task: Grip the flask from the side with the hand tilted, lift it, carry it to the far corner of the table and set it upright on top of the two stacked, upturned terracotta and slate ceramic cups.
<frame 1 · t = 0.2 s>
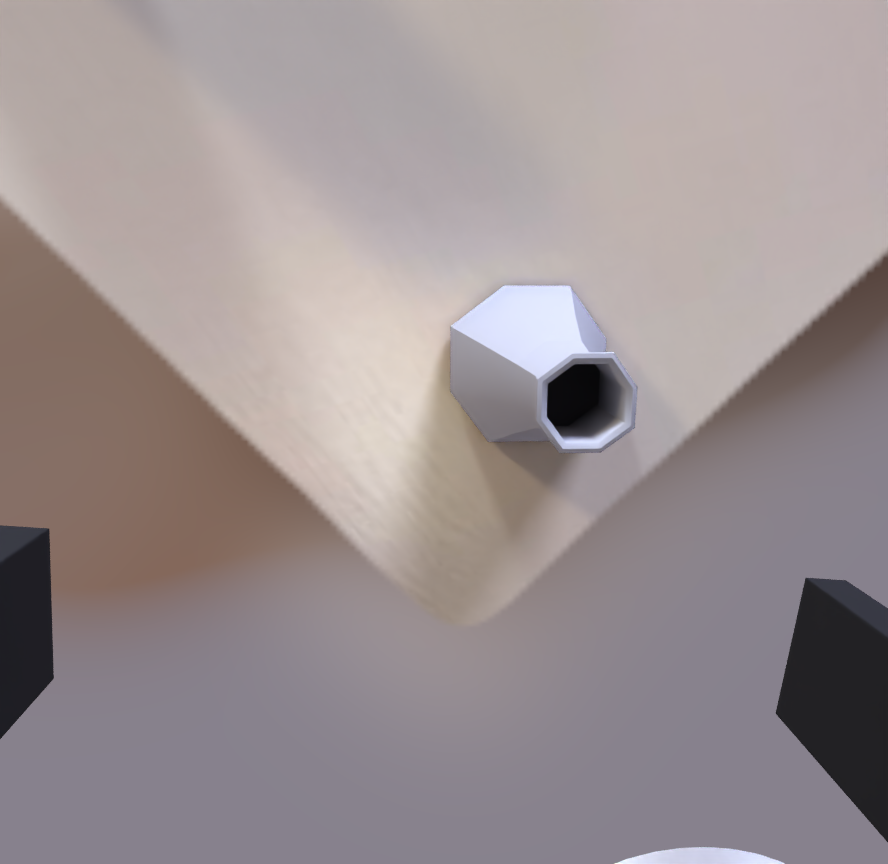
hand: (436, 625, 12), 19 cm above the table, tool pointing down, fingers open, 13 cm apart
flask: (526, 364, 30), on the table
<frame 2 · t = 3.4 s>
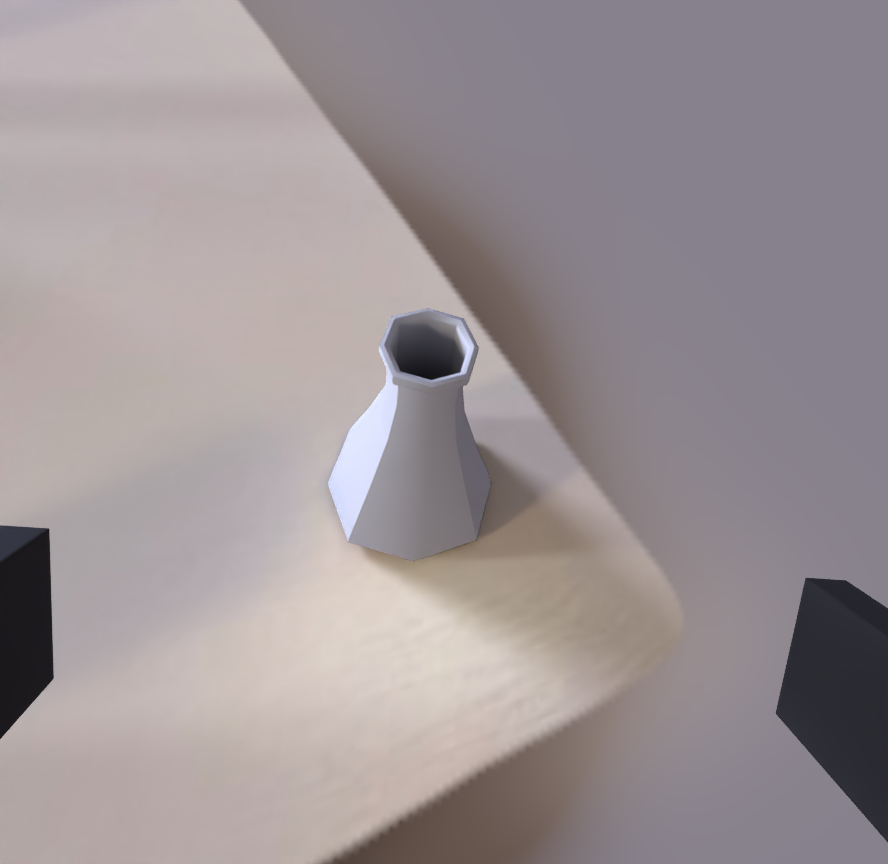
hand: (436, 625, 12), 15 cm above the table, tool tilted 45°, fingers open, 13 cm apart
flask: (410, 488, 30), on the table
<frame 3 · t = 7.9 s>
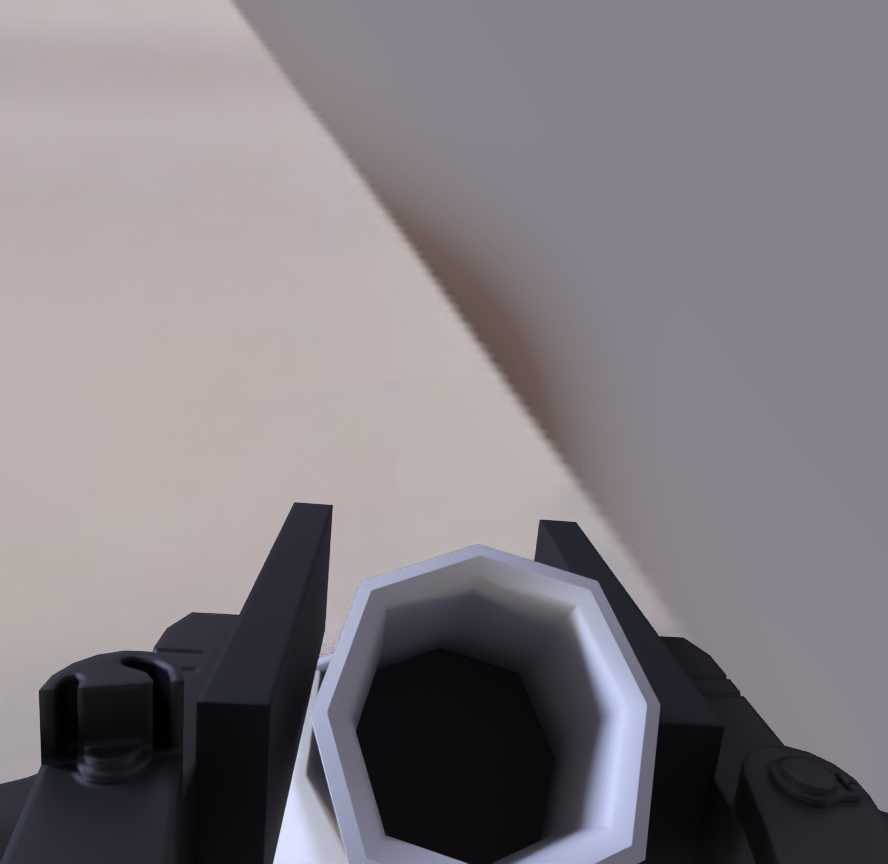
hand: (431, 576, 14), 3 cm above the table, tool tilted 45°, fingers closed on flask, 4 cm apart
flask: (411, 800, 15), on the table, touching gripper
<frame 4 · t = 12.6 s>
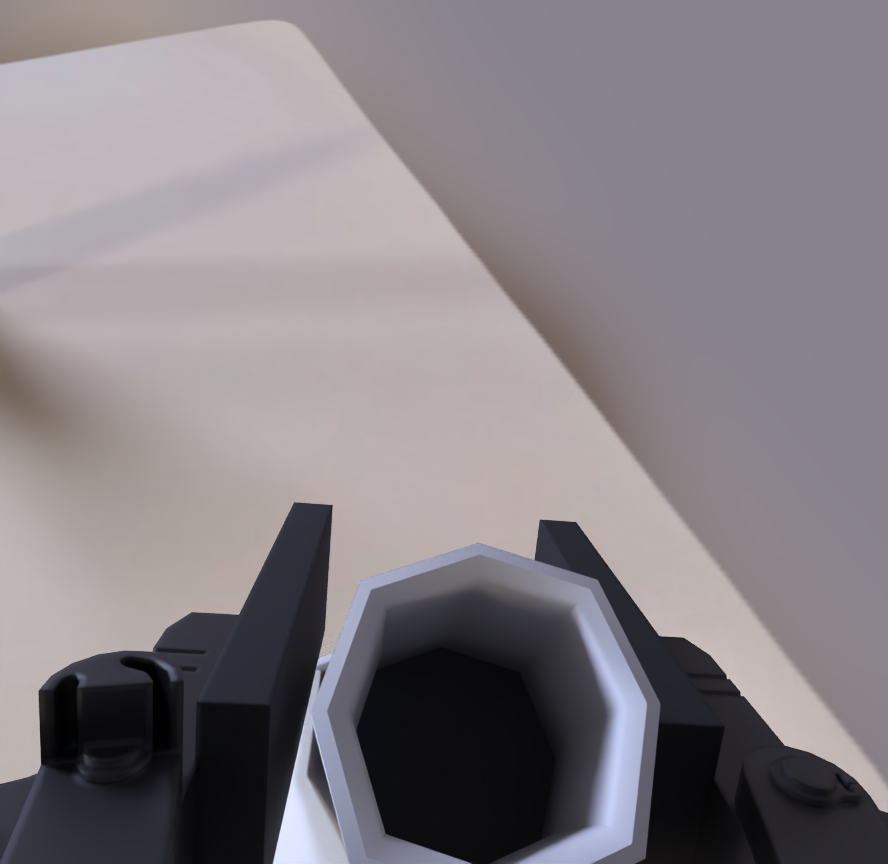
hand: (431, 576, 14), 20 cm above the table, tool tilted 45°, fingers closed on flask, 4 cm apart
flask: (412, 800, 15), point 17 cm above the table, touching gripper
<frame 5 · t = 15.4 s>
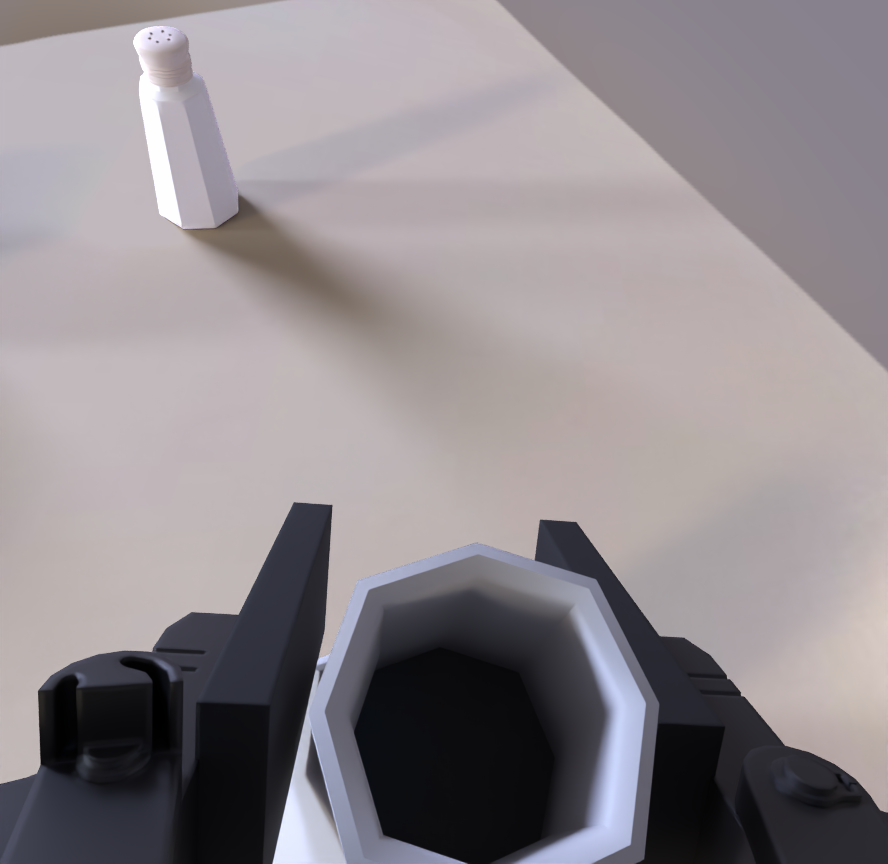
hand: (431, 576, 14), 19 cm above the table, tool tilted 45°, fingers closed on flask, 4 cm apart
pepper shaker: (200, 206, 46), on the table
flask: (412, 800, 15), point 15 cm above the table, touching gripper
when the fingers open (13 cm above the table, at t = 17.3 s): flask stays where it is, resting on cup stack.
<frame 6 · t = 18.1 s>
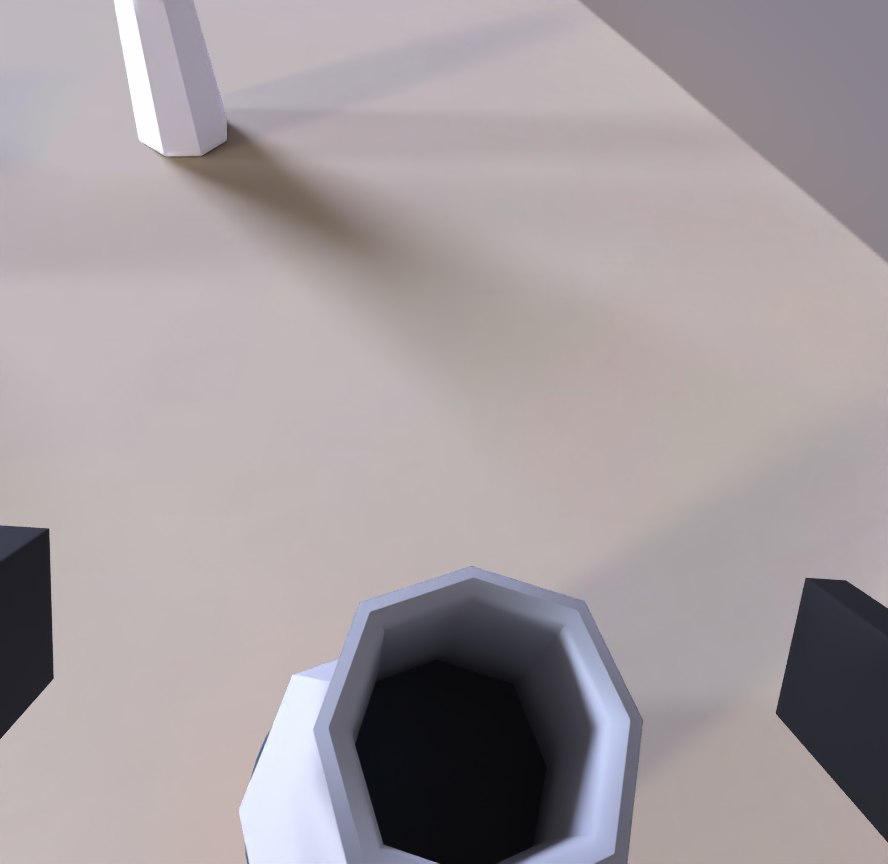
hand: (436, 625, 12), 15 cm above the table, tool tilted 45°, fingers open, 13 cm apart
pepper shaker: (185, 134, 41), on the table
flask: (409, 804, 15), point 9 cm above the table, touching cup stack
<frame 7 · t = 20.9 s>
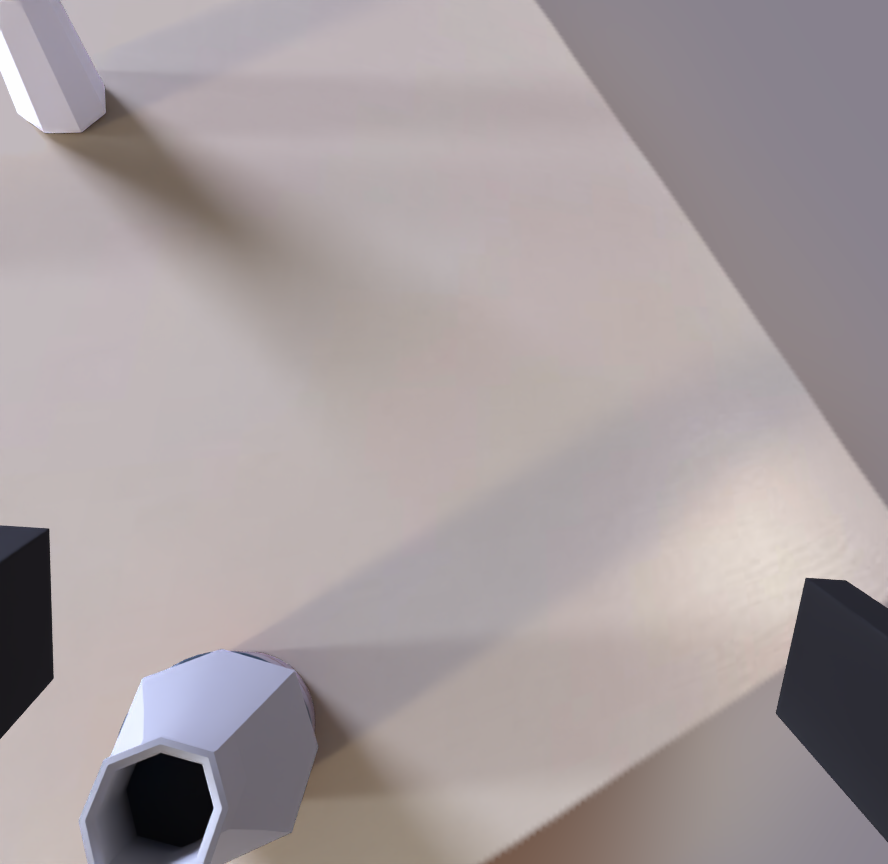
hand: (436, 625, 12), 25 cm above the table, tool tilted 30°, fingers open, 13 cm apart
pepper shaker: (64, 103, 42), on the table
flask: (217, 752, 25), point 9 cm above the table, touching cup stack
cup stack: (243, 726, 33), on the table
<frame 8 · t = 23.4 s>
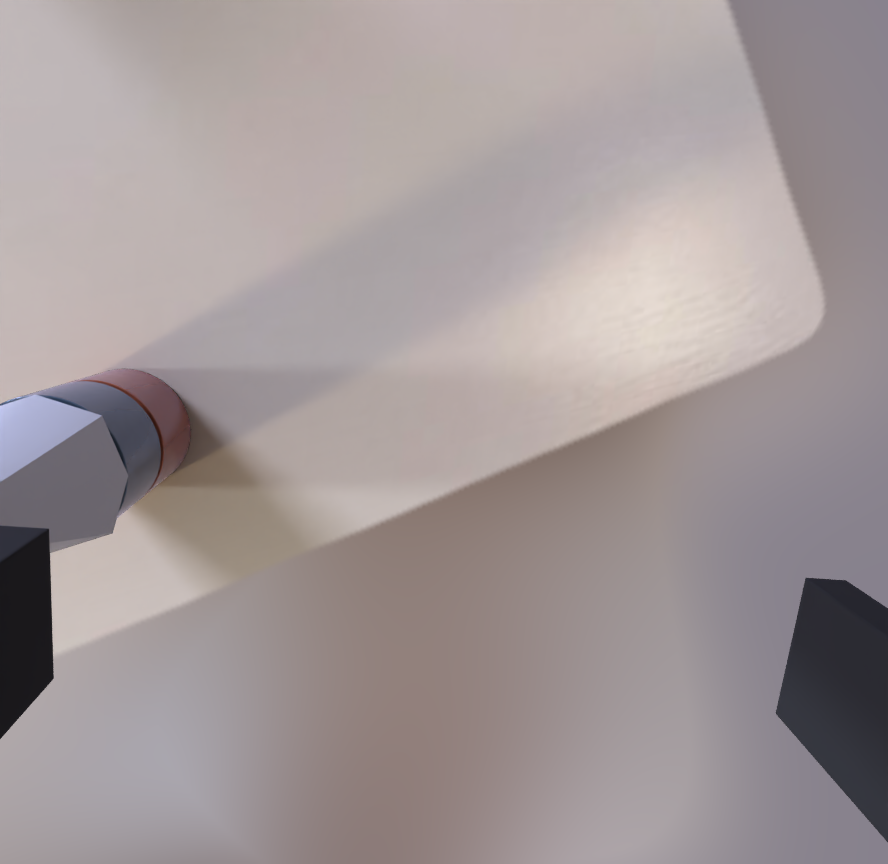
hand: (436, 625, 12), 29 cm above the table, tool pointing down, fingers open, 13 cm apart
flask: (49, 472, 30), point 9 cm above the table, touching cup stack
cup stack: (129, 428, 39), on the table
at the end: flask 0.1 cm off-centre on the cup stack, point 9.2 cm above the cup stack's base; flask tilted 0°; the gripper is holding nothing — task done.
